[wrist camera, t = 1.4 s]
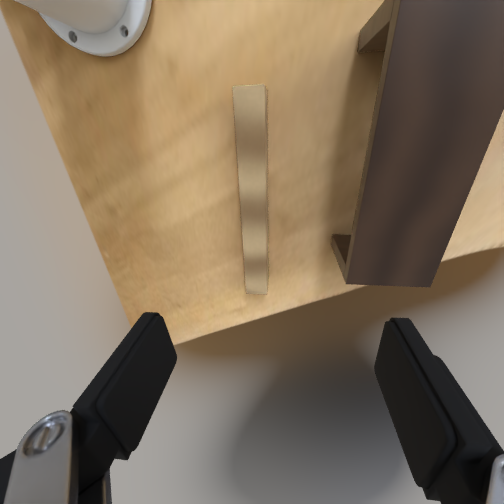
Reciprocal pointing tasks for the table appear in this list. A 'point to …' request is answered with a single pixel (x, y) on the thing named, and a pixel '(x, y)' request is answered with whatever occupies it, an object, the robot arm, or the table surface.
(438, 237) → the dark brown channel bracket
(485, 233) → the table surface
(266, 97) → the stick
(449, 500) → the robot arm
